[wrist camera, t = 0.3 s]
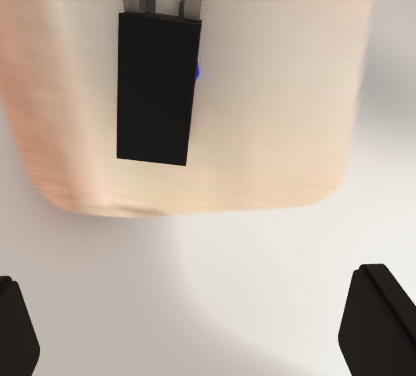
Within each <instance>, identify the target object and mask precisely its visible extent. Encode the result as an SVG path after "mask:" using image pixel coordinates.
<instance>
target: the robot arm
mask: <svg viewBox="0 0 416 376" xmlns="http://www.w3.org/2000/svg"><path fill="white" fill-rule="evenodd" d="M338 342H339V346H340V349H341V351H342V354H343V356H344V358H345V361H346V363H347V365H348V368H349V370H350V372H351V375H352V376H416V306H415V304H414V303H413V302H412V301H411V299H410V298H409V296H408V295H407V294H406V292H405V291H404V290H403V289H402V287H401V286H400V284H399V283H398V282H397V280H396V279H395V277H394V276H393V275H392V273H391V272H390V271H389V269H388V268H387V267H386V266H385V265H384V264H362V265H361V266H360V267H359V269H358V270H355V271H354V272H353V275H352V279H351V284H350V288H349V292H348V296H347V300H346V304H345V309H344V313H343V317H342V321H341V325H340V330H339V334H338ZM39 355H40V346H39V343H38V340H37V337H36V334H35V332H34V328H33V325H32V323H31V320H30V317H29V314H28V311H27V308H26V305H25V302H24V299H23V296H22V293H21V290H20V288H19V285H18V283H17V282H16V281H12V279H11V277H9V276H0V376H32V373H33V371H34V369H35V366H36V364H37V362H38V359H39Z"/></svg>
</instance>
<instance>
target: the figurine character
mask: <svg viewBox="0 0 416 376" xmlns="http://www.w3.org/2000/svg"><path fill="white" fill-rule="evenodd" d="M123 3H124V10H125V12H123V13H119V26H118V94H117V158H120V159H128V160H137V161H146V162H154V163H163V164H172V165H180V166H186V161H187V151H188V142H189V133H190V124H191V115H192V105H193V96H194V87H195V81H196V80H197V78H198V76H199V68H198V60H197V59H198V50H199V41H200V32H201V26H202V20H199V17H200V8H201V0H181V2H180V6H179V17H177V16H170V15H163V14H156V13H155V0H123ZM145 3H146V12H144V10H145Z"/></svg>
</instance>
